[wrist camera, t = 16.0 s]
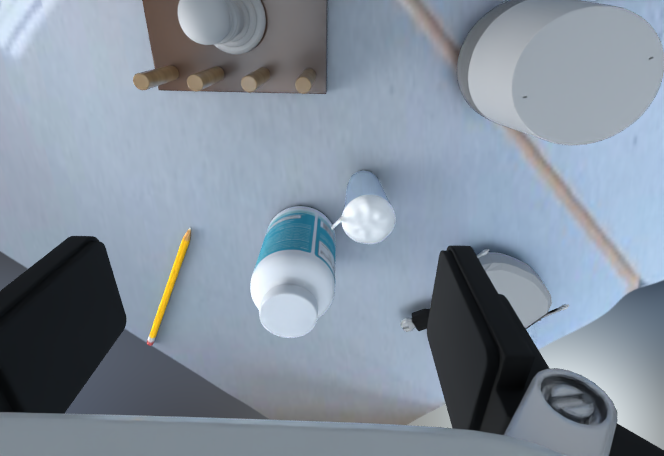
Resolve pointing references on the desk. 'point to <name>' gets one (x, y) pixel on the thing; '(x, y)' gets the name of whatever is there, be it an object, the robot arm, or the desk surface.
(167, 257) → the desk surface
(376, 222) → the milkshake
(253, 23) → the chess piece
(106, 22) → the desk surface
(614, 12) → the smart speaker
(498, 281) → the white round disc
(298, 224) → the pill bottle
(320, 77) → the plate rack
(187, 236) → the pencil
